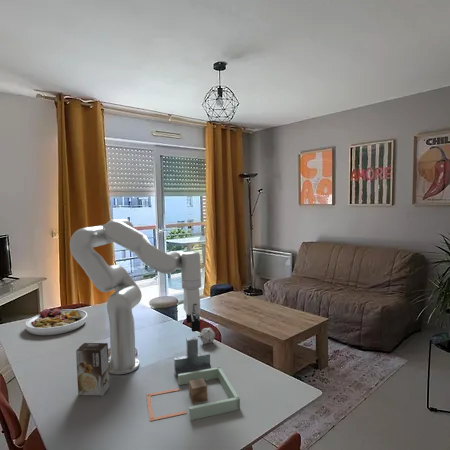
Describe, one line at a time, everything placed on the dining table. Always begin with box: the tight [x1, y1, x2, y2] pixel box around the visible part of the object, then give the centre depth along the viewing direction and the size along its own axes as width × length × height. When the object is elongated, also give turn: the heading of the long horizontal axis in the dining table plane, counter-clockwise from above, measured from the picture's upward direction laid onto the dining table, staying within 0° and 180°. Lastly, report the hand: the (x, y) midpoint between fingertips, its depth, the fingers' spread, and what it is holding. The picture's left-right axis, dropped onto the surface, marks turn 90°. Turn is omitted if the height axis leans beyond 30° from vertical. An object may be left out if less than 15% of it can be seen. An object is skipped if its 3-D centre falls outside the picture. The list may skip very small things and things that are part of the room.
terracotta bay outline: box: [146, 388, 187, 422], centre depth 104 cm, size 11×14×1 cm
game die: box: [197, 325, 218, 346], centre depth 150 cm, size 9×8×10 cm
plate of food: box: [25, 308, 88, 336], centre depth 174 cm, size 30×30×8 cm
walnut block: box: [188, 378, 208, 404], centre depth 108 cm, size 5×5×5 cm
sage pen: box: [177, 366, 241, 421], centre depth 109 cm, size 16×21×4 cm
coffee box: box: [75, 342, 110, 396], centre depth 112 cm, size 9×6×16 cm
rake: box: [173, 336, 212, 378], centre depth 125 cm, size 4×14×13 cm, turn 108°
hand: (193, 326), depth 124 cm, fingers open, 9 cm apart
